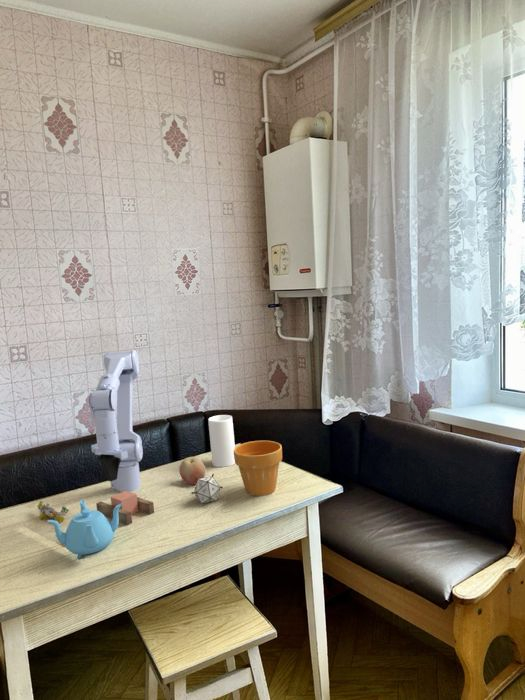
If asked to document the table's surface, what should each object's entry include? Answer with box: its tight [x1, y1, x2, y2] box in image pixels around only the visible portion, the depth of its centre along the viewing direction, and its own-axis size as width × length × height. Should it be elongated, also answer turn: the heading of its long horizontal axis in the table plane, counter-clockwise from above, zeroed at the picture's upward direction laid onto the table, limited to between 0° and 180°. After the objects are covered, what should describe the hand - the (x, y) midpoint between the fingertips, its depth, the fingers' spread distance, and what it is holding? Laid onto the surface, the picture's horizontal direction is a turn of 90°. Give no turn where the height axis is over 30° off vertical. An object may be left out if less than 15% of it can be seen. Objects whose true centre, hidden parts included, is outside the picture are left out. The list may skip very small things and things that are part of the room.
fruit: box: [179, 456, 206, 485], centre depth 169 cm, size 8×8×8 cm
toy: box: [37, 500, 69, 524], centre depth 151 cm, size 5×5×15 cm
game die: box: [190, 473, 224, 505], centre depth 152 cm, size 9×8×10 cm
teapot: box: [47, 499, 123, 560], centre depth 130 cm, size 13×13×10 cm
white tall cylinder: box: [207, 414, 236, 468], centre depth 184 cm, size 8×8×16 cm
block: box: [110, 491, 140, 516], centre depth 147 cm, size 5×5×5 cm
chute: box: [96, 496, 155, 526], centre depth 148 cm, size 14×9×4 cm, turn 50°
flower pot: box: [234, 440, 283, 497], centre depth 158 cm, size 14×14×13 cm
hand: (112, 479), depth 150 cm, fingers closed
